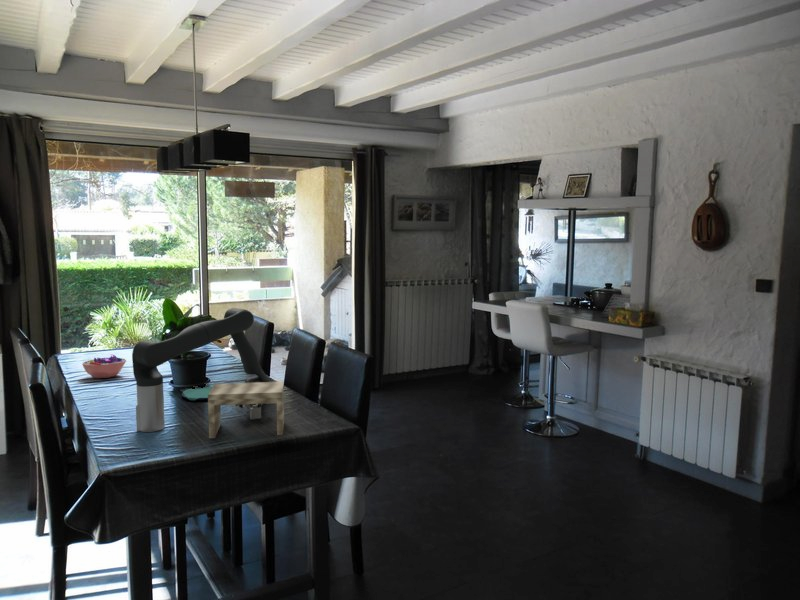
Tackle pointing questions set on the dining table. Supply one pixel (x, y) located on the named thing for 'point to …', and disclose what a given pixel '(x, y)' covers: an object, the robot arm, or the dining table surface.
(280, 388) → the small wooden stool
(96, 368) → the cell model
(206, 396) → the teal flat tray
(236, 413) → the dining table surface
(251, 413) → the lighter
